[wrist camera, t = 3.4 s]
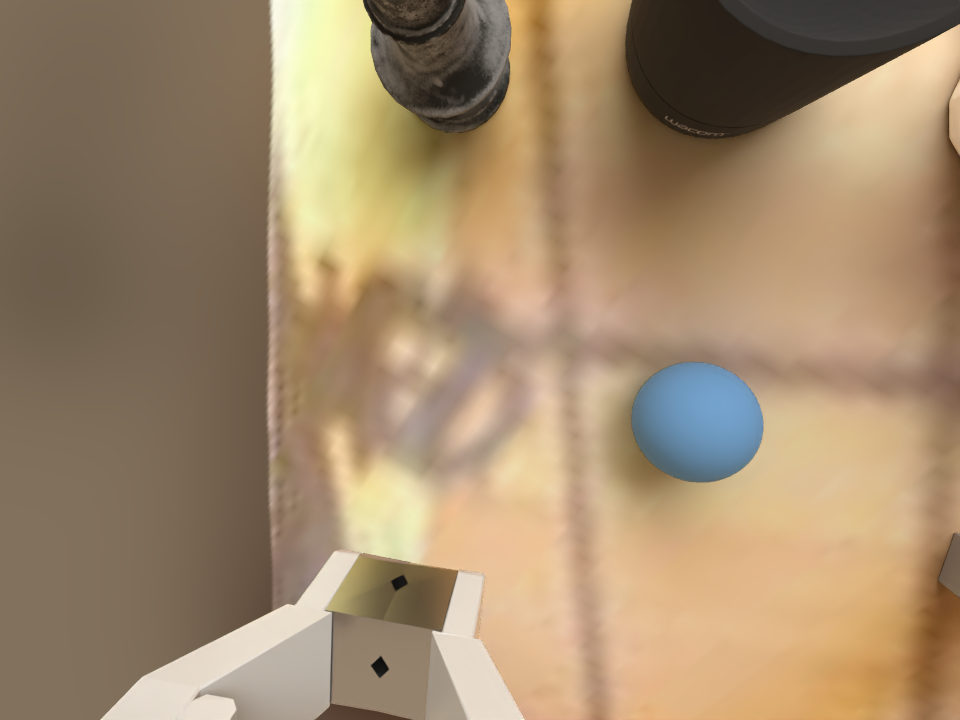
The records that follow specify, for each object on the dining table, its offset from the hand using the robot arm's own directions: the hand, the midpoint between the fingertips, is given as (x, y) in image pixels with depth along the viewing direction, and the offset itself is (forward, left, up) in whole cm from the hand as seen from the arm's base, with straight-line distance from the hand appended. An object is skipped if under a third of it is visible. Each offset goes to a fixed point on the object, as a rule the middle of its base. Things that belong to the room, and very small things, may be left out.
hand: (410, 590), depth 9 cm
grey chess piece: (+3, -15, -17) cm, 23 cm away
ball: (-10, 0, -14) cm, 17 cm away
